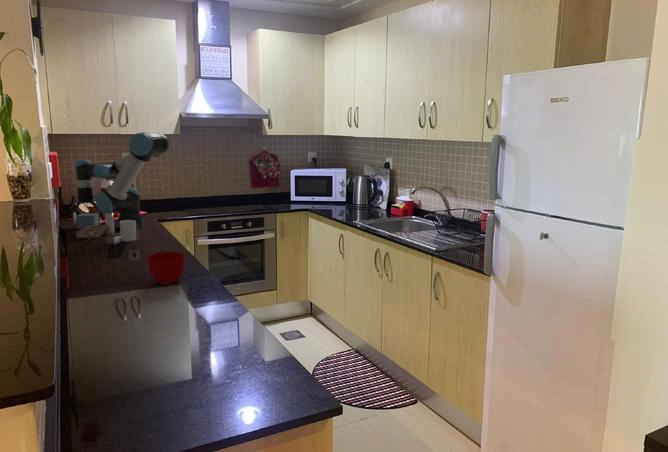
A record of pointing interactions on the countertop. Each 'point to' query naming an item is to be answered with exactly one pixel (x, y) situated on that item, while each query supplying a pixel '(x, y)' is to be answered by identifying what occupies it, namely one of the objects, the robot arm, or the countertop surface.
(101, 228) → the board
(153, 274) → the ceramic cup
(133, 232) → the white cup
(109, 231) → the peg
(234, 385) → the countertop surface
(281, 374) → the countertop surface
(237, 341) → the countertop surface
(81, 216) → the slate blue cube
